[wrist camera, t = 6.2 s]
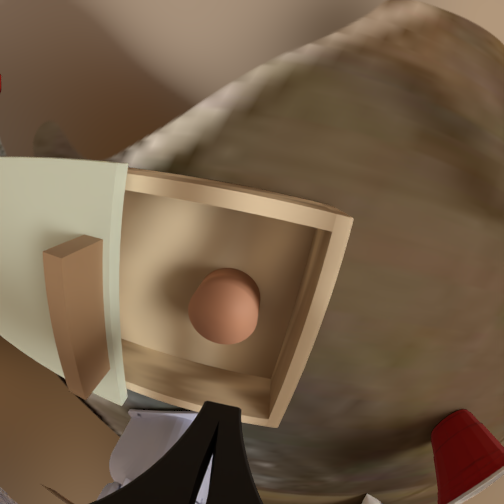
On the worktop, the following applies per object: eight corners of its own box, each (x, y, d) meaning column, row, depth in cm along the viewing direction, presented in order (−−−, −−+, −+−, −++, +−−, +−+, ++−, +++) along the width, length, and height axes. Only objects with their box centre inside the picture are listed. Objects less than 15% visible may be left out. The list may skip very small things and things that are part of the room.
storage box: (331, 205, 16) (353, 218, 11) (278, 380, 20) (277, 427, 15) (123, 166, 17) (77, 168, 12) (117, 337, 21) (87, 371, 16)
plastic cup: (417, 458, 23) (437, 521, 12) (406, 430, 21) (433, 513, 10) (481, 418, 21) (512, 474, 10) (484, 379, 19) (530, 447, 8)
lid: (128, 163, 11) (72, 163, 7) (127, 396, 15) (103, 436, 12) (-15, 156, 12) (-52, 161, 8) (0, 325, 16) (-26, 344, 12)
